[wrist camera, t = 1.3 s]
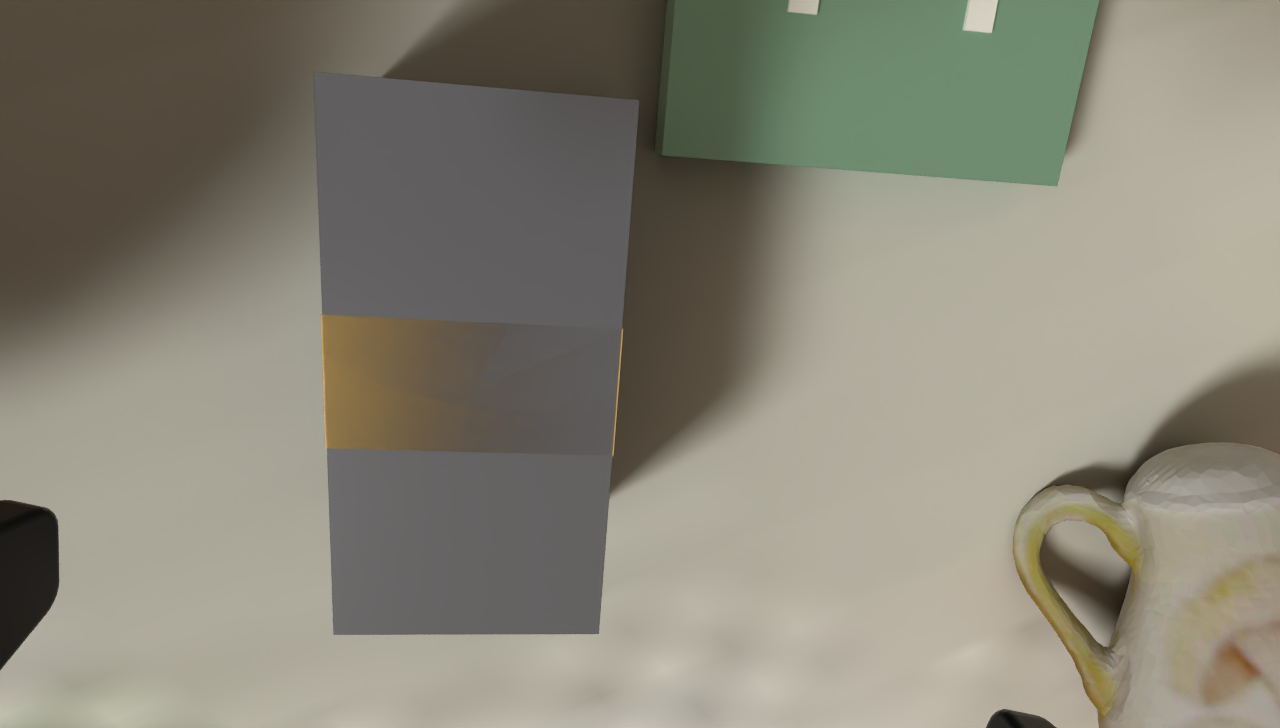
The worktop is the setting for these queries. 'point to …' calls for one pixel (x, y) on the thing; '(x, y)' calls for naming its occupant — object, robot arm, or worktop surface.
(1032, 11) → the board
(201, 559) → the worktop surface
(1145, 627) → the grey lumpy rounded lump
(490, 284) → the block
